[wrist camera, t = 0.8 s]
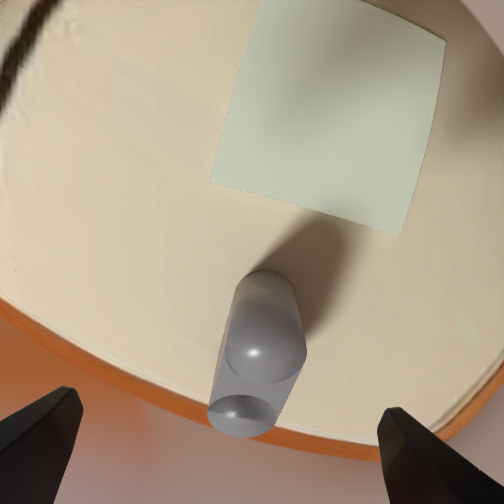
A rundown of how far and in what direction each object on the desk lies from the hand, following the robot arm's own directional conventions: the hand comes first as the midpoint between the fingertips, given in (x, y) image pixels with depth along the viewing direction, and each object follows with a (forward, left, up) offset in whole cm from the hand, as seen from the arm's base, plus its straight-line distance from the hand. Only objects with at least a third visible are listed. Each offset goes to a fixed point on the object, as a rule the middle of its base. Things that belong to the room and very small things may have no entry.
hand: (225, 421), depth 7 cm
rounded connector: (-2, +5, -13) cm, 14 cm away
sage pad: (-3, -11, -13) cm, 17 cm away
